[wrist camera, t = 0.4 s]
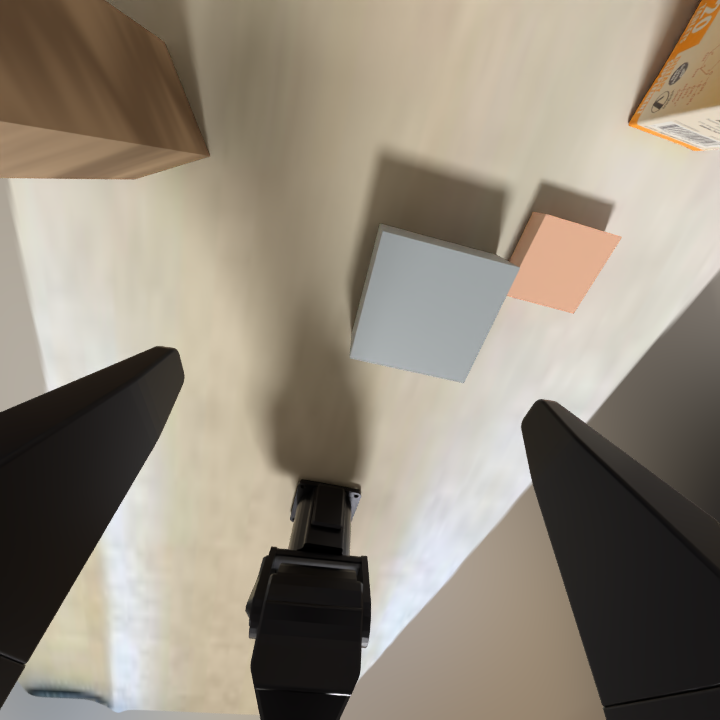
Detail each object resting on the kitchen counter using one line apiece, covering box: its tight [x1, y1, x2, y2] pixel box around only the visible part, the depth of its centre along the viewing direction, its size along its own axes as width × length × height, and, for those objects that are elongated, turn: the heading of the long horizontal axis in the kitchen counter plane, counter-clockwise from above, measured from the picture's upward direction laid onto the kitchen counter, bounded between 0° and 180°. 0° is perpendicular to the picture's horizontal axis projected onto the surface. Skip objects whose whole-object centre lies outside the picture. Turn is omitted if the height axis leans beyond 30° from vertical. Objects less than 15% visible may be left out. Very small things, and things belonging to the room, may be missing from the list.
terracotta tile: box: [507, 212, 622, 314], centre depth 20 cm, size 5×5×2 cm
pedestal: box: [350, 224, 520, 383], centre depth 21 cm, size 8×8×4 cm
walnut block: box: [0, 0, 210, 179], centre depth 12 cm, size 5×5×13 cm
